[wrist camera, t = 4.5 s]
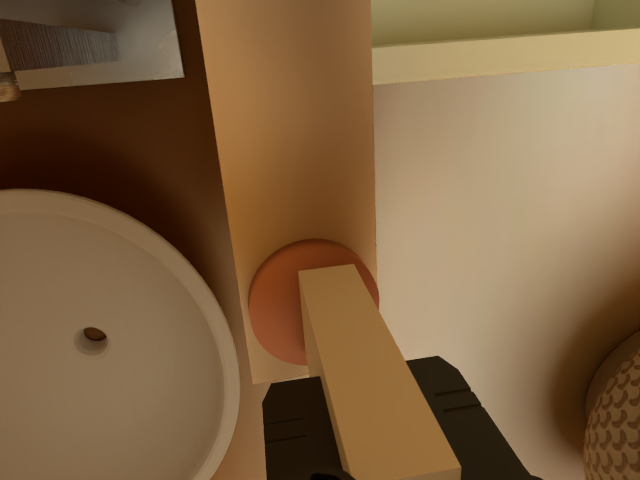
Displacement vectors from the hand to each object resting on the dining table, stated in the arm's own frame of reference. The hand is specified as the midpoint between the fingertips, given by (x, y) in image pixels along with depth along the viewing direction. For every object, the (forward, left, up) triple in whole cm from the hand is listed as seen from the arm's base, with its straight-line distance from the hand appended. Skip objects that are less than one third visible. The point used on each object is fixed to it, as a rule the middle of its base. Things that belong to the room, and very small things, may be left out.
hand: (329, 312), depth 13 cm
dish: (-10, -6, -12) cm, 17 cm away
